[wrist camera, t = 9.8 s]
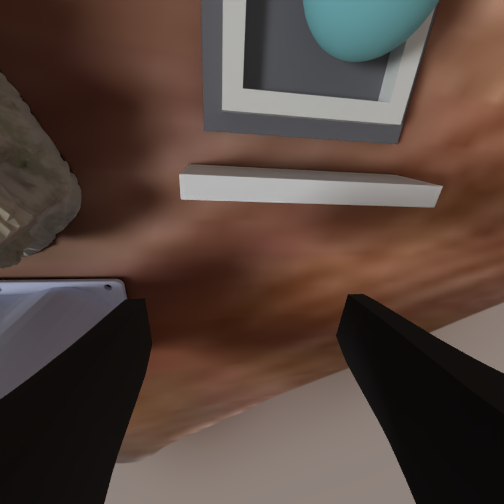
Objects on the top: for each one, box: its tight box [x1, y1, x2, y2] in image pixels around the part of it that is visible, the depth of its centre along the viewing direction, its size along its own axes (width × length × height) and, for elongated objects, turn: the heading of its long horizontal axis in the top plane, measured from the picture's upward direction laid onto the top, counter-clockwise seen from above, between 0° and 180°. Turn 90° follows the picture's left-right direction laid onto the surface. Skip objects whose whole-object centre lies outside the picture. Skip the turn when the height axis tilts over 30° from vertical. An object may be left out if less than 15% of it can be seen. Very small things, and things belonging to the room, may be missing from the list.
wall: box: [179, 164, 443, 208], centre depth 14 cm, size 14×1×4 cm, turn 86°
